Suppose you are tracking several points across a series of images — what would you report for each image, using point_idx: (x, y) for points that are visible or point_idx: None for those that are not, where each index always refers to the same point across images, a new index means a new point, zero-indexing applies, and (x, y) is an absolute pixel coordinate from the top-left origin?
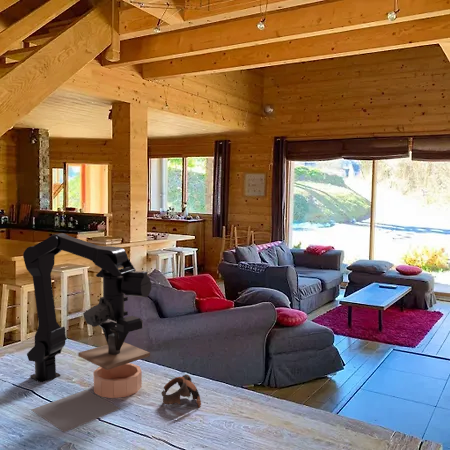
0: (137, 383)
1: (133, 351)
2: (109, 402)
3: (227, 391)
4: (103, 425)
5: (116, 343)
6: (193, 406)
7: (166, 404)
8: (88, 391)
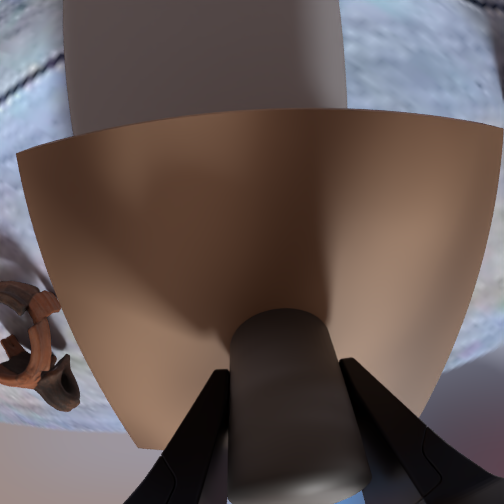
0: None
1: None
2: None
3: (69, 414)
4: (25, 56)
5: (186, 425)
6: (19, 331)
7: (5, 281)
8: None
